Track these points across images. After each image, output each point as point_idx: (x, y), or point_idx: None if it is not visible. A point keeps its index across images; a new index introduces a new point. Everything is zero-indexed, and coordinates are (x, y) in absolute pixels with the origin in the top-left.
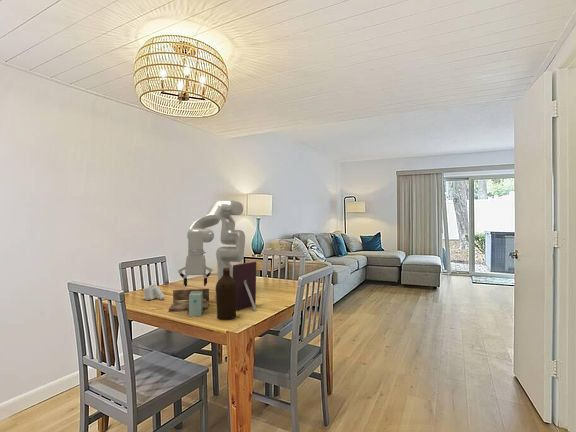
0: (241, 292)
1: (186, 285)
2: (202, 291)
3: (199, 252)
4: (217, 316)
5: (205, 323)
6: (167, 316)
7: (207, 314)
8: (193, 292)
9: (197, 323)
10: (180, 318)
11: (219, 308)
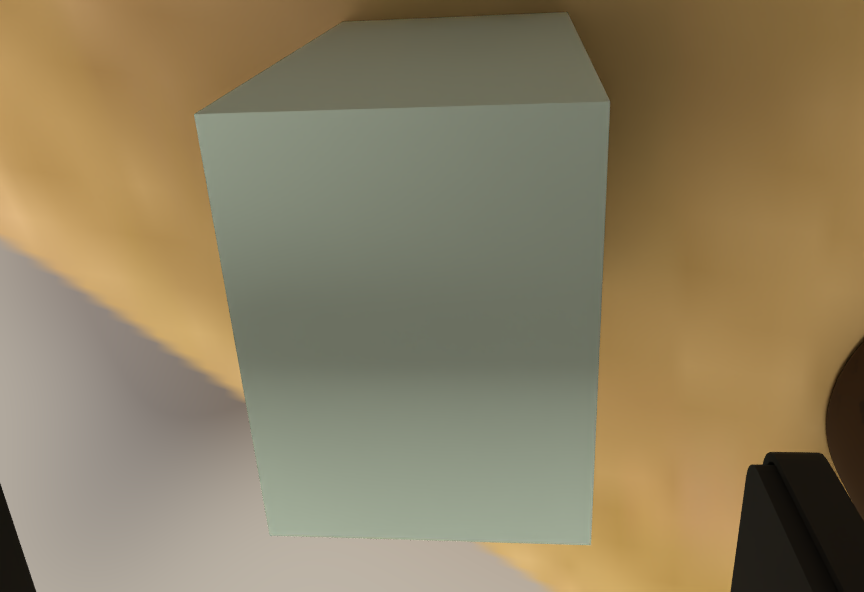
0: None
1: (15, 585)
2: (606, 174)
3: None
4: (836, 464)
5: (646, 585)
6: (21, 229)
7: (666, 223)
8: (317, 279)
9: (541, 569)
10: None
11: None
